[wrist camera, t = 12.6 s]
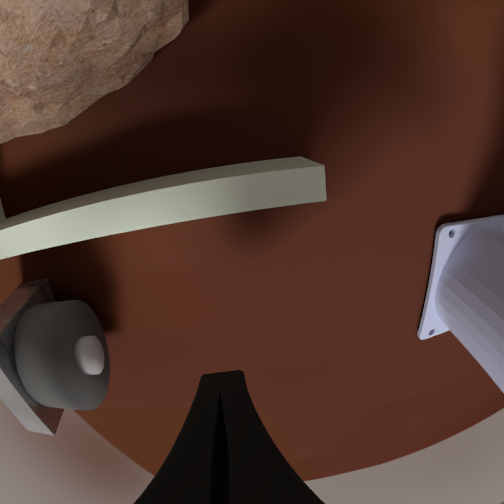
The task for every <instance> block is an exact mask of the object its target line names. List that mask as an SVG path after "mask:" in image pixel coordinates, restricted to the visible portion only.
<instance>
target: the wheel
mask: <svg viewBox="0 0 504 504" xmlns="http://www.w3.org/2000/svg"><path fill="white" fill-rule="evenodd" d="M14 356H15V363H16V367H17V371H18V374H19V377H20V379H21V382H22V383H23V385H24V387H25V389H26V390H27V392H28V393H29V394H30V396H31V397H32V398H33V399H34V400H36V401H37V402H38V403H40V404H41V405H44V406H47V407H53V408H63V409H74V410H93V409H96V408H97V407H98V406H99V405H100V404H101V403H102V402H103V400H104V398H105V396H106V393H107V389H108V385H109V376H110V363H109V353H108V347H107V342H106V338H105V335H104V332H103V329H102V326H101V324H100V322H99V320H98V318H97V316H96V314H95V313H94V311H93V310H92V309H91V308H90V306H89V305H87V304H86V303H85V302H83V301H80V300H69V301H61V302H52V303H43V304H36V305H33V306H31V307H29V308H28V309H27V310H26V311H25V312H24V313H23V315H22V316H21V318H20V320H19V322H18V325H17V328H16V332H15V338H14Z"/></svg>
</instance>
